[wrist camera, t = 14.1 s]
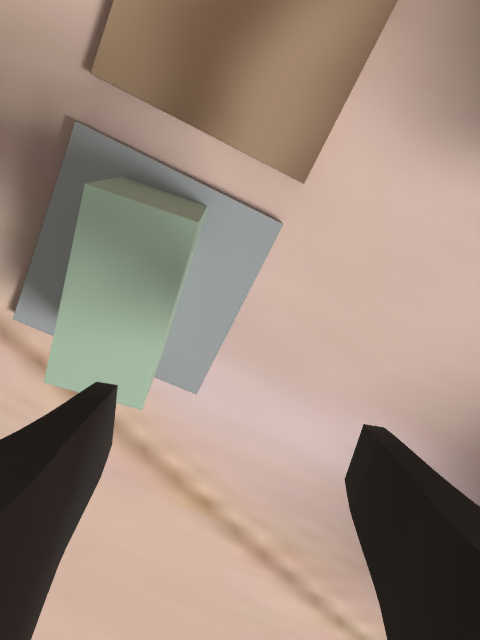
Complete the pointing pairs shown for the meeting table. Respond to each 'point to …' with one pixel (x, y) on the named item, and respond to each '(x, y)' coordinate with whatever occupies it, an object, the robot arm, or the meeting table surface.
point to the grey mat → (204, 270)
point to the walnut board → (245, 67)
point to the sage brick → (122, 287)
